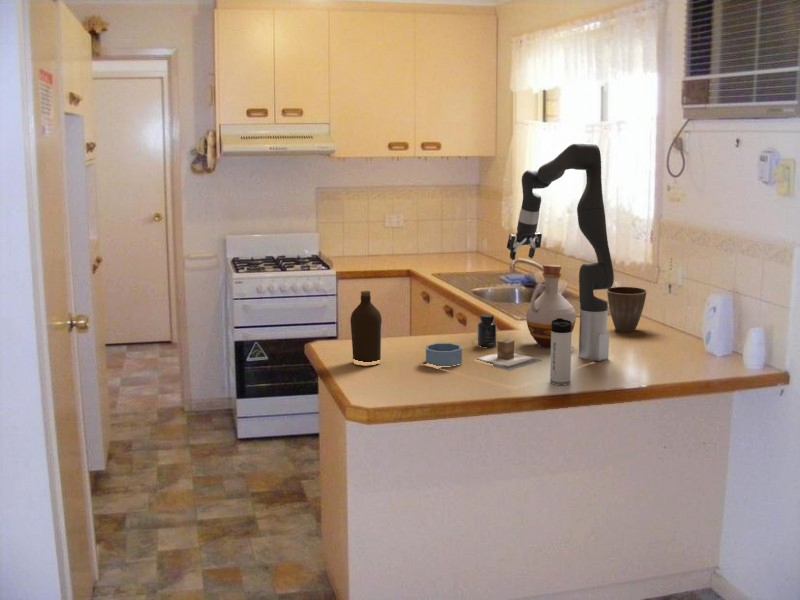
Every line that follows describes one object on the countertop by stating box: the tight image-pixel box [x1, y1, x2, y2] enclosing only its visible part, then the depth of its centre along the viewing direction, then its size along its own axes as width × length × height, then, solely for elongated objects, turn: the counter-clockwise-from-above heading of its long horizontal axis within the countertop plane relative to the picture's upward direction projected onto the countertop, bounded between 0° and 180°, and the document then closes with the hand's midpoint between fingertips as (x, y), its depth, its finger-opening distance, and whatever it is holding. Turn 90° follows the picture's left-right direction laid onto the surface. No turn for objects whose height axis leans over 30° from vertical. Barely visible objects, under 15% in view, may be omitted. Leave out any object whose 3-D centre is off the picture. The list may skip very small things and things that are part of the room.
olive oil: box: [350, 290, 383, 362], centre depth 307 cm, size 11×11×25 cm
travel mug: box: [549, 318, 573, 386], centre depth 282 cm, size 6×7×20 cm
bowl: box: [425, 342, 463, 366], centre depth 306 cm, size 12×12×6 cm
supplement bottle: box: [477, 313, 497, 349], centre depth 328 cm, size 7×7×12 cm
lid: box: [476, 338, 536, 368], centre depth 308 cm, size 14×14×7 cm
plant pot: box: [606, 286, 648, 333], centre depth 352 cm, size 15×15×16 cm
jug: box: [525, 264, 577, 349], centre depth 327 cm, size 20×18×30 cm
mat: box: [493, 358, 544, 371], centre depth 309 cm, size 18×18×1 cm
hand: (521, 258), depth 355 cm, fingers open, 8 cm apart
